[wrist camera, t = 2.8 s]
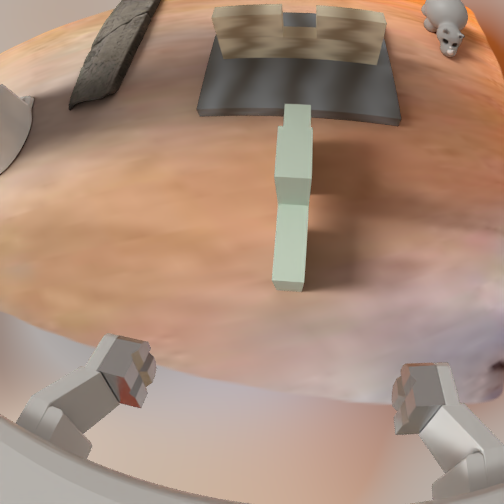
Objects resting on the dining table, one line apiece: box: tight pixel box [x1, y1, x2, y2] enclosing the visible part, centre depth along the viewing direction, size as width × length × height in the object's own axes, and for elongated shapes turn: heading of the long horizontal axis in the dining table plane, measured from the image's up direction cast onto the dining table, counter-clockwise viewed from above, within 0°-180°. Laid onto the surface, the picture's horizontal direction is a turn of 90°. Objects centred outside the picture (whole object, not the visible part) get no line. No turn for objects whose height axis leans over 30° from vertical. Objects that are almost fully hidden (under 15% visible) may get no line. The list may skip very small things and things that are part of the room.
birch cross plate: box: [197, 4, 401, 126], centre depth 33 cm, size 24×20×9 cm
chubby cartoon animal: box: [421, 0, 468, 57], centre depth 33 cm, size 7×12×8 cm, turn 168°
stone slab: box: [69, 0, 161, 110], centre depth 43 cm, size 10×3×30 cm
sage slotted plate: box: [272, 104, 313, 292], centre depth 27 cm, size 16×2×12 cm, turn 175°
